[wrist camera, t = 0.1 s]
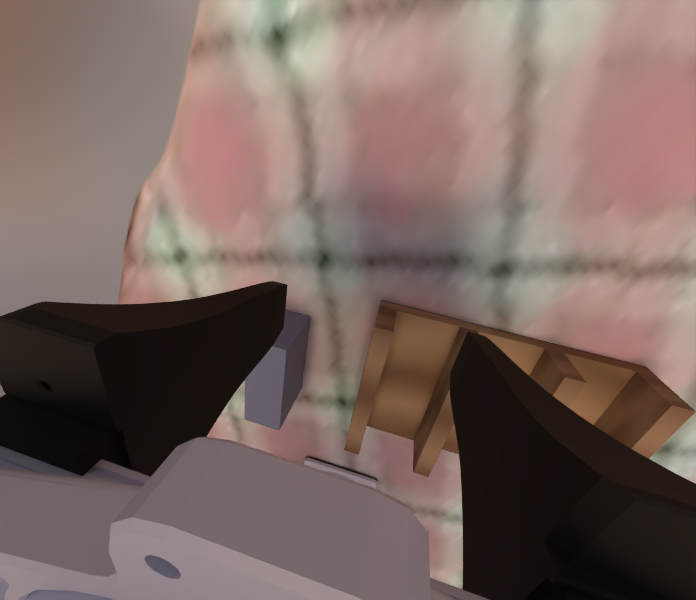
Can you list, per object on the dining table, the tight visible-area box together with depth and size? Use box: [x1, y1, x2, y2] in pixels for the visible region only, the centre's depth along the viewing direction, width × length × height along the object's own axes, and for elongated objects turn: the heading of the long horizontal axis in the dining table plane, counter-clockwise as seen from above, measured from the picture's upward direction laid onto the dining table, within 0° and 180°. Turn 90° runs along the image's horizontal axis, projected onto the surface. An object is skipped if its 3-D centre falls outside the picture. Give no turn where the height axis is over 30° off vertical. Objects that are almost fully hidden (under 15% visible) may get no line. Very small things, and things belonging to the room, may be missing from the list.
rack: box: [344, 301, 696, 477], centre depth 22 cm, size 12×18×4 cm, turn 80°
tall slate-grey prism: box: [245, 310, 310, 430], centre depth 24 cm, size 8×3×5 cm, turn 170°
